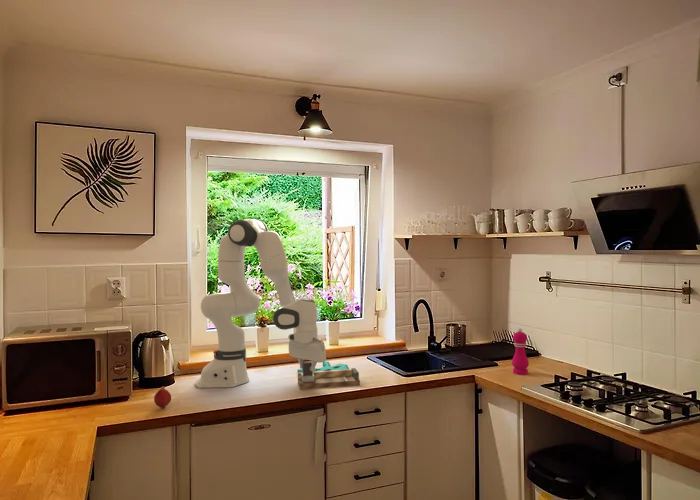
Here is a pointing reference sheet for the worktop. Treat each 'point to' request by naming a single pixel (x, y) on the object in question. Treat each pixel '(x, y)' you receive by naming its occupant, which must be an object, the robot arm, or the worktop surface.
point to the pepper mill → (520, 354)
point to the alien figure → (329, 367)
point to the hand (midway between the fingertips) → (307, 369)
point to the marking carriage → (307, 372)
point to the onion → (162, 398)
